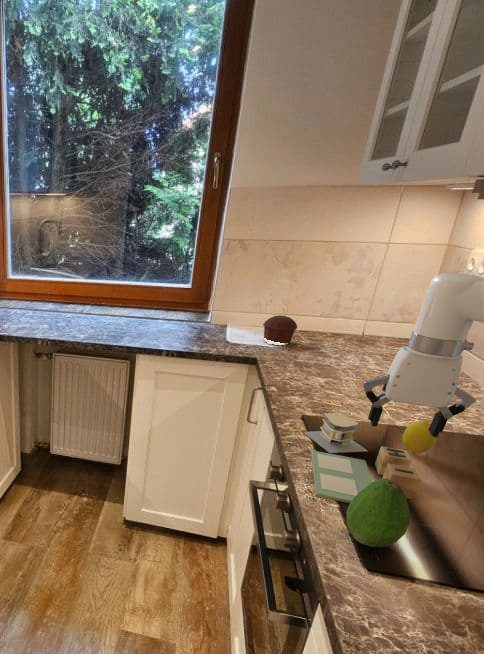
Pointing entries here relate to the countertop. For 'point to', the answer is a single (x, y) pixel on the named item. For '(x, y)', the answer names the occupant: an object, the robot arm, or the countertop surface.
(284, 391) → the countertop surface
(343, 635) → the countertop surface
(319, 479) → the word mat
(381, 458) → the light brown block
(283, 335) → the muffin
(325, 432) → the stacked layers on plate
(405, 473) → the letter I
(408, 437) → the lemon
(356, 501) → the avocado
